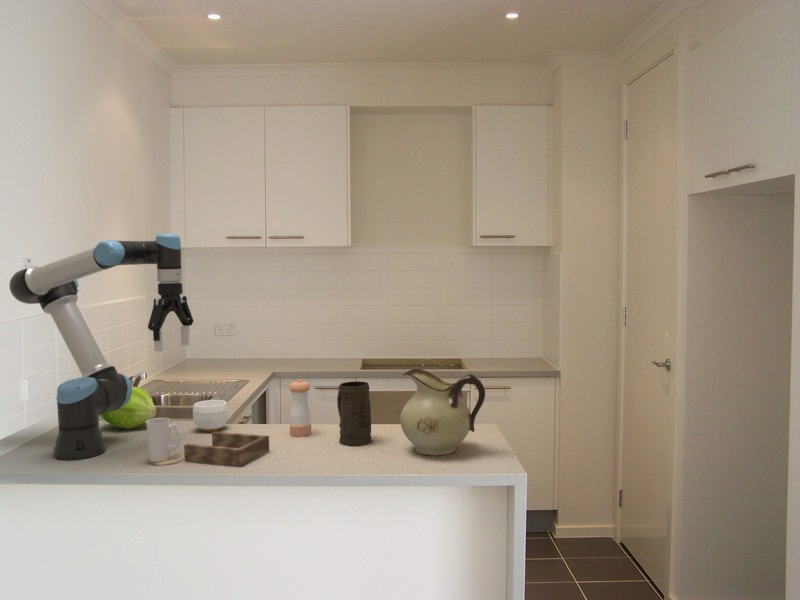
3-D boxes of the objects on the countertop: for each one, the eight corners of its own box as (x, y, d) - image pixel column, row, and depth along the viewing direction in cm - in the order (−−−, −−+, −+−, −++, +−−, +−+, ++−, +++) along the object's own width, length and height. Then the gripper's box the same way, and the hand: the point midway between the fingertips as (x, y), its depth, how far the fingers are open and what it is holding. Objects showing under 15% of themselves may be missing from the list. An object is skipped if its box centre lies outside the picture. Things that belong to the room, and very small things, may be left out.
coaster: (142, 463, 210) (142, 462, 210) (163, 454, 220) (163, 452, 220) (170, 466, 207) (170, 464, 207) (190, 457, 216) (190, 455, 216)
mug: (144, 462, 210) (142, 423, 209) (153, 455, 216) (151, 417, 216) (177, 462, 209) (176, 422, 209) (185, 455, 216) (183, 417, 215)
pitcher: (389, 445, 226) (388, 369, 224) (454, 437, 235) (453, 363, 233) (418, 464, 205) (417, 380, 204) (488, 454, 215) (487, 374, 213)
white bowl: (236, 427, 253) (235, 401, 252) (212, 435, 242) (211, 408, 241) (210, 424, 258) (209, 398, 258) (185, 432, 247) (184, 405, 247)
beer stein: (380, 441, 231) (376, 381, 231) (356, 448, 223) (352, 386, 223) (348, 436, 241) (344, 379, 241) (325, 443, 234) (321, 383, 233)
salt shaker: (297, 438, 237) (296, 382, 236) (286, 434, 242) (284, 379, 241) (315, 434, 242) (314, 379, 240) (303, 430, 247) (302, 376, 246)
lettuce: (137, 440, 245) (135, 400, 242) (91, 430, 252) (89, 391, 249) (167, 424, 261) (166, 385, 257) (124, 415, 267) (122, 377, 264)
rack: (184, 461, 212) (184, 445, 212) (215, 446, 228) (215, 431, 227) (241, 466, 206) (241, 450, 205) (269, 451, 222) (268, 435, 221)
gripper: (154, 284, 211) (157, 353, 212) (202, 280, 234) (204, 343, 236) (134, 284, 213) (136, 353, 215) (183, 280, 237) (186, 342, 238)
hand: (172, 348), depth 225 cm, fingers open, 13 cm apart
